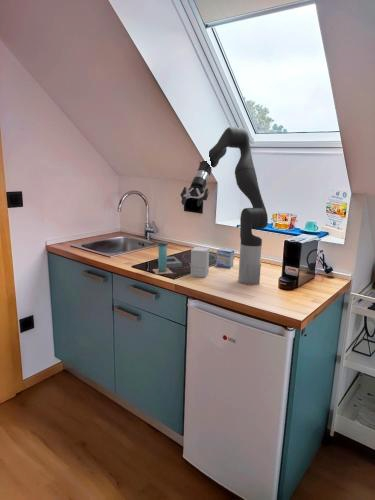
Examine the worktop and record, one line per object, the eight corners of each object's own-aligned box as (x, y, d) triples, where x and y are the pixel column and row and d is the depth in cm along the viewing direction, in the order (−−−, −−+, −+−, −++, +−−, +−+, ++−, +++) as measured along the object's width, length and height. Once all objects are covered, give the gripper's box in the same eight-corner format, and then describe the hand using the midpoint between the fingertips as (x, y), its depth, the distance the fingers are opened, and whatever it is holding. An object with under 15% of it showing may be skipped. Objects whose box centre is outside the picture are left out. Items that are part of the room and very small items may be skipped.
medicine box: (215, 266, 194) (216, 249, 192) (219, 264, 198) (220, 248, 196) (230, 268, 190) (231, 251, 188) (233, 266, 194) (234, 250, 192)
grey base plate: (182, 267, 189) (182, 263, 188) (164, 269, 186) (164, 264, 185) (173, 260, 202) (174, 256, 201) (157, 261, 199) (157, 257, 198)
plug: (168, 271, 179) (168, 243, 176) (159, 272, 178) (159, 243, 174) (165, 269, 183) (166, 241, 180) (156, 270, 182) (156, 241, 179)
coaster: (172, 274, 178) (172, 272, 178) (156, 275, 176) (156, 273, 175) (168, 269, 185) (168, 268, 185) (152, 270, 183) (152, 269, 183)
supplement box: (208, 273, 181) (209, 247, 178) (205, 277, 174) (206, 251, 171) (193, 271, 183) (194, 246, 180) (189, 276, 176) (190, 249, 173)
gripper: (186, 175, 200) (175, 198, 192) (210, 176, 194) (200, 200, 186) (190, 185, 206) (180, 208, 198) (214, 186, 199) (204, 210, 192)
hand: (190, 204), depth 192 cm, fingers open, 8 cm apart
